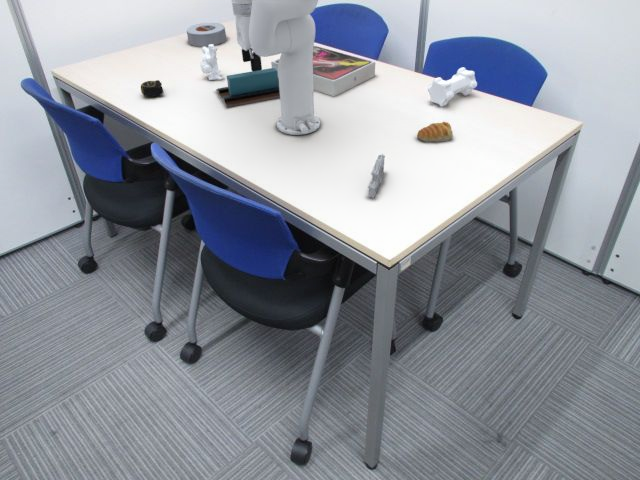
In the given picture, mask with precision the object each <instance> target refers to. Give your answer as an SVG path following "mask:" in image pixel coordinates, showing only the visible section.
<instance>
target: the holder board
mask: <svg viewBox="0 0 640 480" xmlns="http://www.w3.org/2000/svg"><path fill="white" fill-rule="evenodd" d="M278 86H279V78H278ZM215 90H216V91H215V92H216V93H217V95H218V96H219V98H220V99H221V101H222V103H223V105H224V106H225V107H226V109H229V108H234V107H239V106H245V105H250V104H256V103H260V102H266V101H271V100H272V101H273V100H277V99H280V91H279V87H277V88H271V89H265V90H260V91H254V92H249V93H243V94H238V95H232V96H230V94H229V89H228V86H224V87H218V88H217V89H215Z"/></svg>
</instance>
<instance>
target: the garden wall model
mask: <svg viewBox="0 0 640 480" xmlns="http://www.w3.org/2000/svg"><path fill="white" fill-rule="evenodd" d="M385 158H386V155H384V154H383V153H381V154H378V156H377V158H376V160H375V162H374V165H372V170H371V172H370V175H371V177H372V178H371V181H369V185H368V186H367V188H368V198H372V199H374V198H375V196H376V194H377V191H378V189H379V187H380V186H379V185H381V184H382V181H383V176H384V173H385V172H384V171H385Z"/></svg>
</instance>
